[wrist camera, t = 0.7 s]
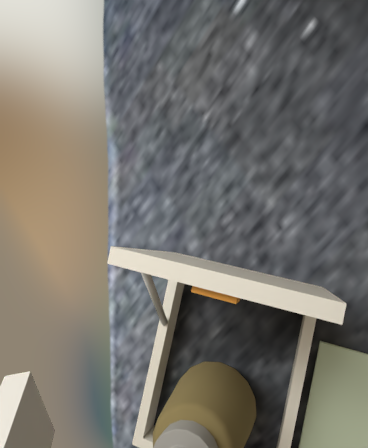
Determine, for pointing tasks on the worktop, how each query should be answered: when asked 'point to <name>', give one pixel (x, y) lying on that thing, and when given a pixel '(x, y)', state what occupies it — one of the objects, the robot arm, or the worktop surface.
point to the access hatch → (231, 292)
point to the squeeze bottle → (207, 410)
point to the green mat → (337, 400)
